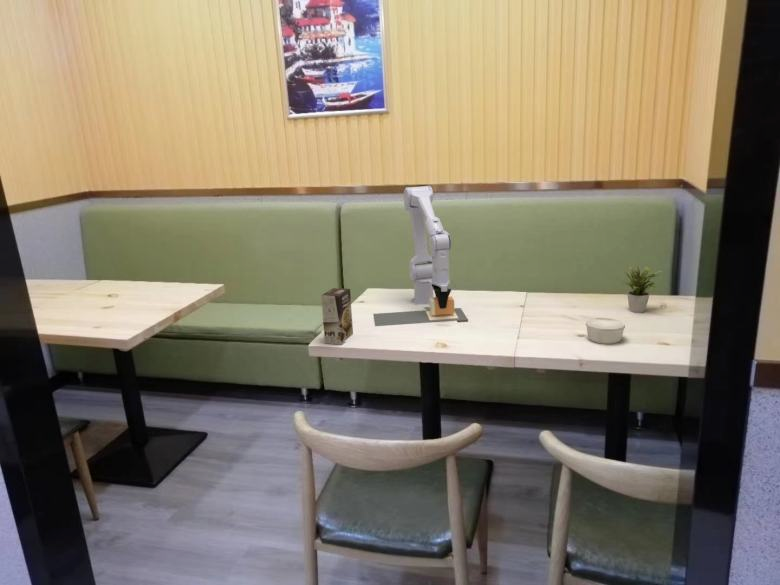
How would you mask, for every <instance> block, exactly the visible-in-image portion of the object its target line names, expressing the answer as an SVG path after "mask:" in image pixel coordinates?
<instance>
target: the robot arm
mask: <svg viewBox="0 0 780 585" xmlns="http://www.w3.org/2000/svg"><path fill="white" fill-rule="evenodd" d="M433 200H434V190H433V188H432V187H431V185H423V186H412V187H408V186H407V187H405V188H404V191H403V202H404V208H405V211H407V212H408V213H409V216H410V222H411V223H410V224H411V230H412V240H413V247H414V248H413V249H414V256H413V257H412V258H410V260H409V262H408V275H409V278H410V280H411V281H413V287H414V288H413V291H414V298H412V302H413V304H414V306H428V305H429V306H430V299H429V298H434V295H435V297H437V298H438V303H439V307H440V309H443V308H446V306H447V300H448V297H450V294H451V293H452V289H451V288H448V286H449V285H450V283H451V281H450V262H449V260H450V256H449V255H450V254H449V253H450V252H449V250H451V248H452V238H451V236H450V235H451V234H449V232H447V230H445V229H444V227H443V224H442V222H441V219H440V217H438V216H436V214H435V211H434V206H433ZM426 233H427V235H428V238H429V239H428V243H427V235H426ZM428 245H429V247H428ZM428 248H429V249H430V254H429V252H428Z"/></svg>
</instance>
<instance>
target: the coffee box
mask: <svg viewBox="0 0 780 585" xmlns="http://www.w3.org/2000/svg"><path fill="white" fill-rule="evenodd" d="M320 297H321V308H322V309H321V311H322V321H323V322H322V323H323V324H322V325H323V337H324V344H330V345H331V344H332V345H341V346H342V345H344V343H345V342H346V341H347V340H348V339H349V338H351V336H352V335H354V329H353V328H354V327H353V325H354V324H353V313H352V296H351V288H341V287H340V288H335V287H334V288H331V289H329V290H327V291H326V292H325V293H323V294H321V296H320Z"/></svg>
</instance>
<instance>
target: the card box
mask: <svg viewBox="0 0 780 585" xmlns="http://www.w3.org/2000/svg"><path fill="white" fill-rule="evenodd" d="M429 299H430V305H429V310H430V313H431V315H442V314H454V308H455V299H454V297H453V296H452V295H451V296H448V300H447V306H446V308H443V309H440V307H439V303H438V298H437V297H436V296H433V298H429Z"/></svg>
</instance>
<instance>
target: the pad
mask: <svg viewBox="0 0 780 585" xmlns="http://www.w3.org/2000/svg"><path fill="white" fill-rule="evenodd" d="M426 313H427V315H428V318H429V320H430V321H431V320H445V319H458V316H457V315H456V313H455V311H454V314H442V315H431V313H430V311H426Z"/></svg>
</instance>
